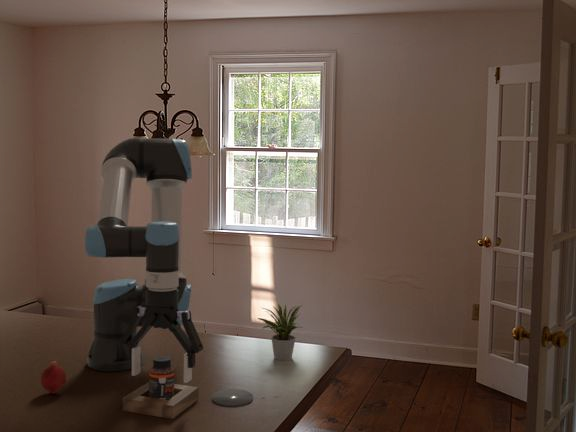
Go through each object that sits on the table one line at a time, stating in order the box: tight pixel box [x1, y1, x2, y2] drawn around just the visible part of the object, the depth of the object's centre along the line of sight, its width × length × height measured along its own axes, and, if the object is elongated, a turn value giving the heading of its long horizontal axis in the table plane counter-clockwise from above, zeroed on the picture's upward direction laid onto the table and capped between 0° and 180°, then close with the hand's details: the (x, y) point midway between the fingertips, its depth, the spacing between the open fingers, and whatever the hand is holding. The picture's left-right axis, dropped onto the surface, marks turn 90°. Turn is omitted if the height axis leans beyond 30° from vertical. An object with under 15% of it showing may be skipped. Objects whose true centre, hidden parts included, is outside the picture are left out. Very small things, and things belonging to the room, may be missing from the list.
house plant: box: [257, 303, 304, 362], centre depth 200 cm, size 14×14×16 cm
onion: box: [40, 361, 67, 394], centre depth 166 cm, size 6×6×8 cm
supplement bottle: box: [148, 355, 176, 400], centre depth 160 cm, size 6×6×11 cm
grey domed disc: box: [211, 388, 254, 407], centre depth 166 cm, size 10×10×1 cm
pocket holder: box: [122, 381, 199, 420], centre depth 161 cm, size 13×13×3 cm
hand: (161, 377), depth 160 cm, fingers open, 13 cm apart
